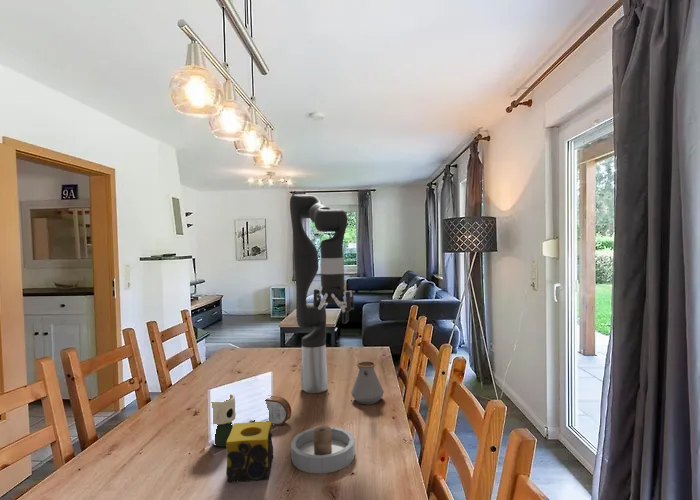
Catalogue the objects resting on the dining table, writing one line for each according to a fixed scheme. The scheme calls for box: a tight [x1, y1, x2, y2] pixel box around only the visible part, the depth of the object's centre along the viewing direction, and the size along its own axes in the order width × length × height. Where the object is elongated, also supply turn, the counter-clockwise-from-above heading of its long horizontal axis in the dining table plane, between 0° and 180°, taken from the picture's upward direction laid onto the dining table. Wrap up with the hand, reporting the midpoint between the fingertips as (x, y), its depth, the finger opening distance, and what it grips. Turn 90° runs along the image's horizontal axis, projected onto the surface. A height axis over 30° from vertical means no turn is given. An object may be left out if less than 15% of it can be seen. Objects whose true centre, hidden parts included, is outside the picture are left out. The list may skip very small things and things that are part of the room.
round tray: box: [290, 426, 356, 474], centre depth 105 cm, size 16×16×4 cm
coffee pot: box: [350, 360, 385, 405], centre depth 136 cm, size 21×12×15 cm, turn 176°
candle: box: [225, 421, 274, 484], centre depth 99 cm, size 10×10×10 cm
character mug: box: [211, 393, 236, 447], centre depth 113 cm, size 11×7×13 cm, turn 177°
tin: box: [265, 395, 292, 426], centre depth 126 cm, size 15×3×8 cm, turn 71°
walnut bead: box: [313, 425, 332, 455], centre depth 105 cm, size 5×5×6 cm
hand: (333, 322), depth 128 cm, fingers open, 8 cm apart
